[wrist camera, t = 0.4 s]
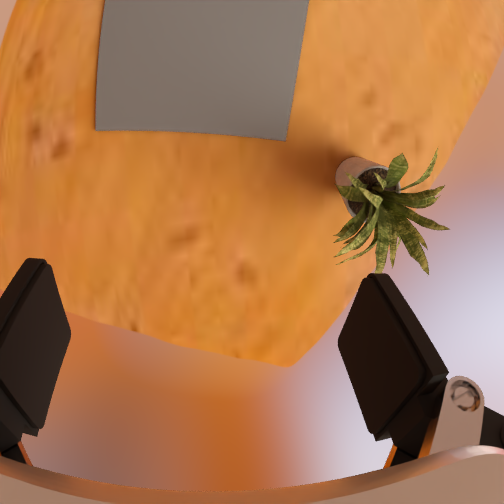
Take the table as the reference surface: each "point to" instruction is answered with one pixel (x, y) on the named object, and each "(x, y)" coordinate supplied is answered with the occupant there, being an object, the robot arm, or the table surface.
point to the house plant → (383, 208)
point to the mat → (199, 66)
